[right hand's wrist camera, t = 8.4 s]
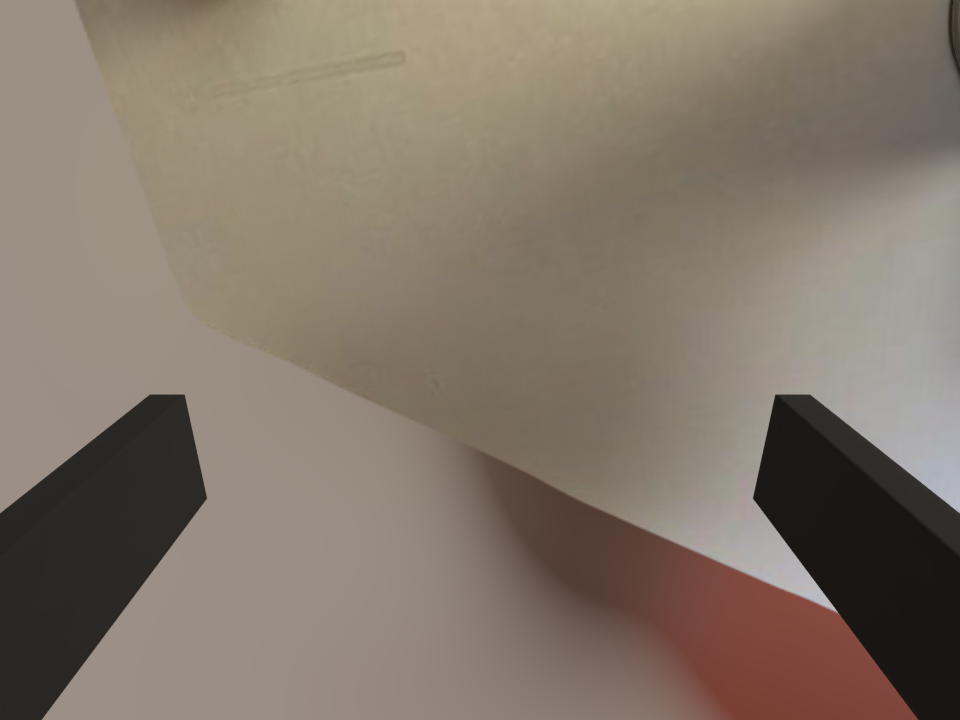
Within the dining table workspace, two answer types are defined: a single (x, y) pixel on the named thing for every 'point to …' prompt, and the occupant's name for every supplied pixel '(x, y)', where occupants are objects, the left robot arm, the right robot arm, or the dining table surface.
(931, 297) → the dining table surface
